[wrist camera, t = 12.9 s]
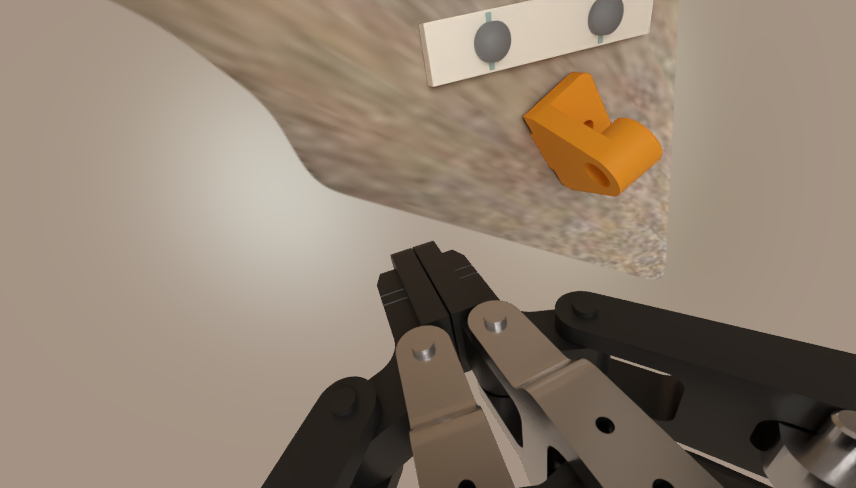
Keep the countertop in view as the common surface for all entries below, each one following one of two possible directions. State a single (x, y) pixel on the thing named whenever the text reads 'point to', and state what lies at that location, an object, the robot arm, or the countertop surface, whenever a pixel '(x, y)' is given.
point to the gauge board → (525, 34)
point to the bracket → (589, 139)
